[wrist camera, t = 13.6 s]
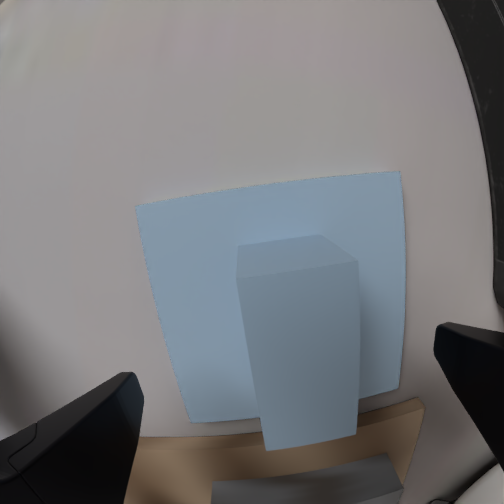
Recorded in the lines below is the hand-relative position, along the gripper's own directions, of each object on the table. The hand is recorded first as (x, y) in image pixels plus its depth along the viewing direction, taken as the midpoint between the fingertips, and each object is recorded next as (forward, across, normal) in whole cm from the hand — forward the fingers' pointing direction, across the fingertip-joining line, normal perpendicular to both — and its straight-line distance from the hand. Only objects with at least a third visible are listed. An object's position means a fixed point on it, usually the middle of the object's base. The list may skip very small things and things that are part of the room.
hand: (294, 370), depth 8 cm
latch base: (+5, +4, +15) cm, 16 cm away
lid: (+5, 0, 0) cm, 5 cm away
